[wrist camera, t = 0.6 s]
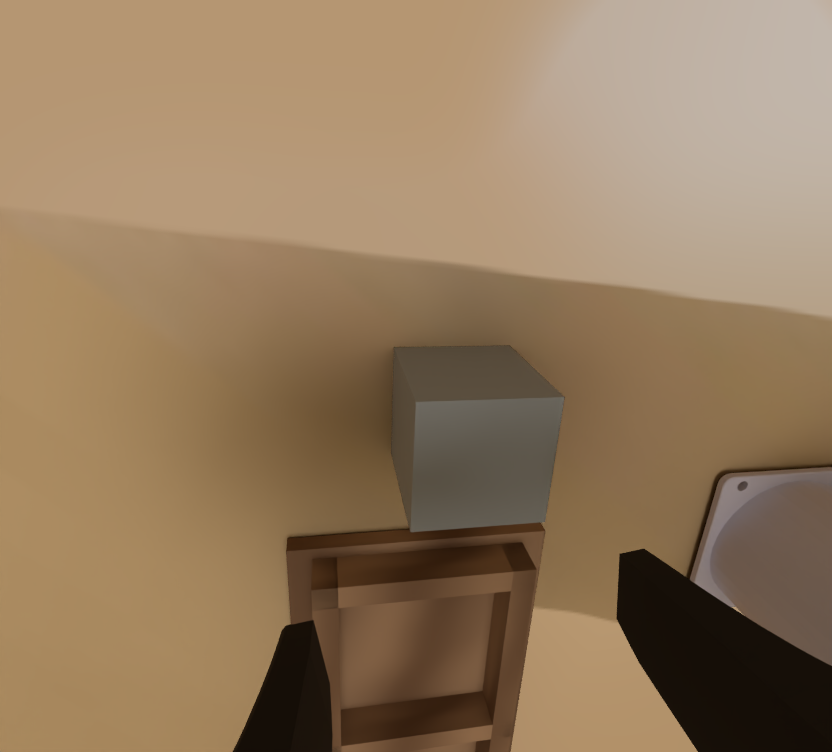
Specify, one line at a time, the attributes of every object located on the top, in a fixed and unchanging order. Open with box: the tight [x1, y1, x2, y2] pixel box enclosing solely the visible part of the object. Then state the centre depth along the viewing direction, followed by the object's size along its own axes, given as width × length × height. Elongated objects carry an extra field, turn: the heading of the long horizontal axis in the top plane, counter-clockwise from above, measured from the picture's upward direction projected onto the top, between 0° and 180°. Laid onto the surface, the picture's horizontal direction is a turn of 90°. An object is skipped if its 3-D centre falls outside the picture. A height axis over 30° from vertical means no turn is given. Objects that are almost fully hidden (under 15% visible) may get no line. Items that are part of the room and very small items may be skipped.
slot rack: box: [286, 522, 545, 752], centre depth 25 cm, size 11×20×3 cm, turn 178°
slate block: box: [391, 346, 565, 532], centre depth 18 cm, size 4×4×5 cm
